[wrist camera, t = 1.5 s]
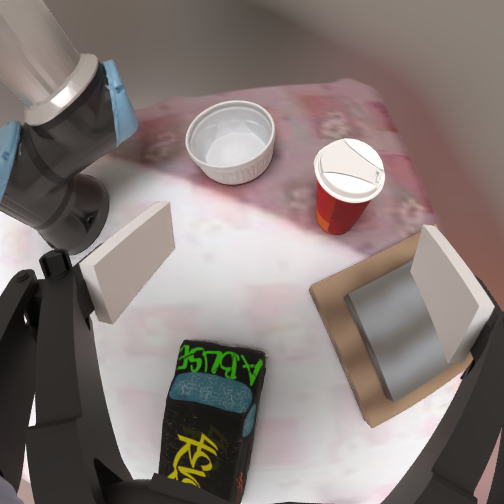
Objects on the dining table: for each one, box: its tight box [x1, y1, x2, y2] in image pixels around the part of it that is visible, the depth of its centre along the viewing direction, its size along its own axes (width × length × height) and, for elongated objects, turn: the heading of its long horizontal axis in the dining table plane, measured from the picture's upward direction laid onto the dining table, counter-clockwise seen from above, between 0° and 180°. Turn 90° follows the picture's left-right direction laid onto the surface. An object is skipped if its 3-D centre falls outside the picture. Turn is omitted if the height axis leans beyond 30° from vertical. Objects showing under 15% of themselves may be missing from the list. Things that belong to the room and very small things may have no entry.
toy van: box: [159, 340, 268, 504], centre depth 30 cm, size 11×25×10 cm, turn 172°
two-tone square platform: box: [309, 223, 473, 428], centre depth 32 cm, size 20×20×7 cm
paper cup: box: [314, 139, 385, 235], centre depth 34 cm, size 8×8×14 cm
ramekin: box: [186, 100, 276, 185], centre depth 43 cm, size 13×13×7 cm
